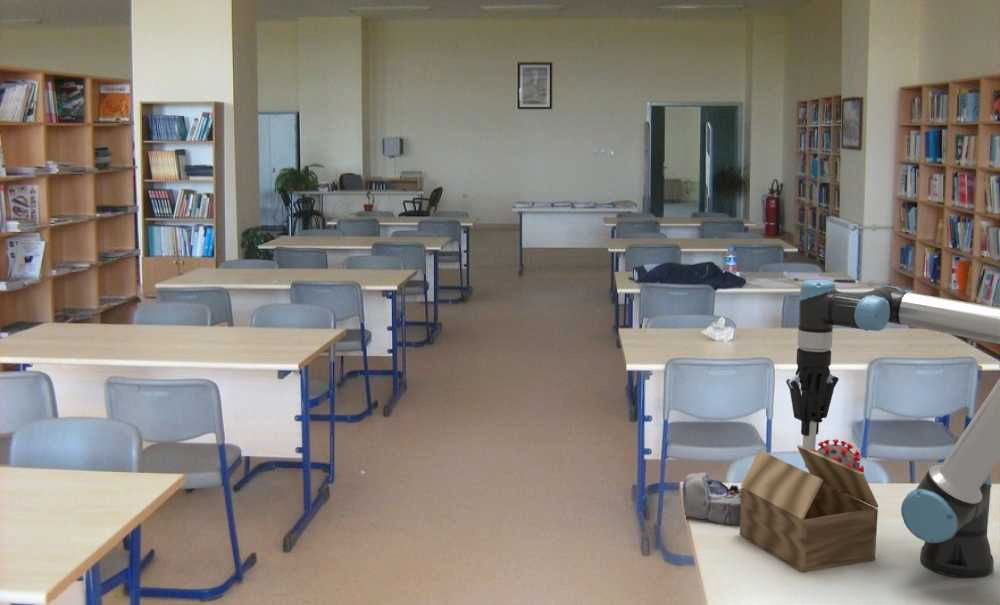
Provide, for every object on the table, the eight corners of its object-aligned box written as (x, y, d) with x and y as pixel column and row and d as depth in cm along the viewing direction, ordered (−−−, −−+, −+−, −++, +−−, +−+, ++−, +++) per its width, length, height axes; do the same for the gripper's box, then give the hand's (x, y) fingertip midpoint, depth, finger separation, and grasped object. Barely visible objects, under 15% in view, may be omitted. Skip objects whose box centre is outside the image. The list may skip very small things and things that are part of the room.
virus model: (873, 500, 288) (876, 445, 285) (822, 505, 284) (825, 449, 281) (842, 482, 301) (845, 430, 299) (793, 487, 298) (796, 434, 295)
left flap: (823, 479, 240) (821, 478, 240) (803, 519, 240) (801, 518, 240) (761, 450, 261) (759, 449, 261) (742, 487, 261) (740, 486, 261)
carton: (874, 559, 249) (877, 509, 247) (801, 572, 241) (804, 520, 239) (808, 524, 271) (810, 477, 269) (739, 535, 263) (741, 487, 261)
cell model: (684, 465, 282) (764, 472, 278) (682, 505, 284) (761, 513, 280) (682, 481, 269) (765, 488, 265) (679, 523, 271) (762, 531, 267)
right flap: (876, 508, 247) (878, 506, 247) (861, 474, 244) (863, 472, 244) (811, 477, 268) (813, 476, 268) (796, 446, 265) (798, 444, 265)
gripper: (827, 343, 254) (821, 441, 258) (780, 347, 249) (775, 447, 253) (848, 349, 247) (842, 450, 251) (800, 353, 243) (795, 456, 247)
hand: (808, 448), depth 252 cm, fingers closed
